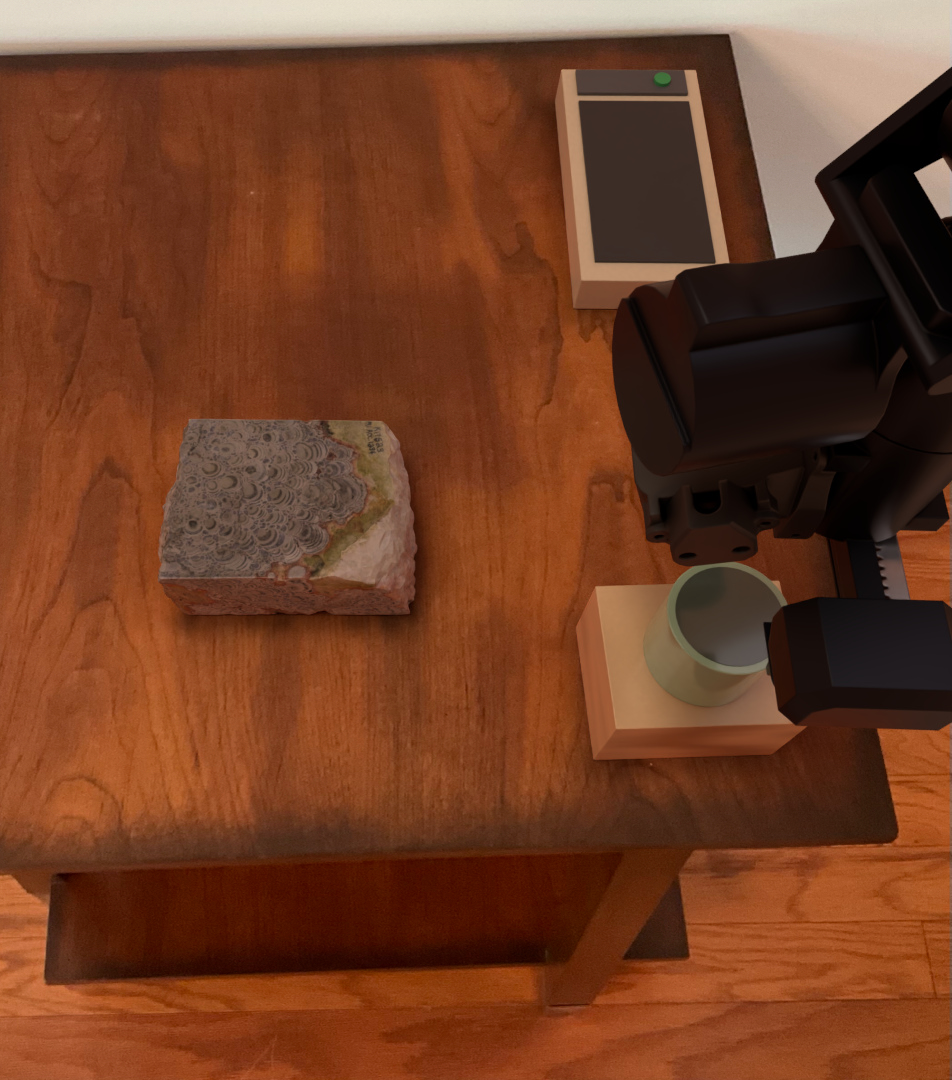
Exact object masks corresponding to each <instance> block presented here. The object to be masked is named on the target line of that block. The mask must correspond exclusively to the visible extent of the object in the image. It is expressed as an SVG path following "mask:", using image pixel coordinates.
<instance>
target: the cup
mask: <svg viewBox="0 0 952 1080" xmlns="http://www.w3.org/2000/svg"><path fill="white" fill-rule="evenodd" d="M772 581H773V580H771V579H770V578H769V577H767V576H766V575H765V574H763V573H762V572H760V571H759V570H757V569H755V568H753V567H752V566H749V565H746V564H743V563H741V562H738V561H736V562H727V563H718V564H709V565H700V566H692V567H689V568H688V569H686V570H685V571H684V572H683V573H681V575H679V576H678V577H677V579H676V580H675V581H674V583H672V584H673V586H672V587H671V589H670V590H669V592H668V594H667V595H666V597H665V598H664V600H663V601H662V603H661V605H660V606H659V608H658V609H657V611H656V612H655V614H654V616H653V617H652V619H651V620H650V622H649V624H648V626H647V628H646V631H645V634H644V639H643V652H644V657H645V661H646V664H647V666H648V669H649V671H650V672H651V674H652V676H653V677H654V679H655V680H656V681H657V683H658V684H659V685H660V686H661V687H662V688H663V689H664V690H666V691H667V692H668V693H669V694H671V695H672V696H674V697H675V698H677V699H679V700H681V701H684V702H686V703H689V704H692V705H696V706H703V707H715V706H722V705H726V704H729V703H731V702H733V701H735V700H737V699H739V698H740V697H741V696H743V695H744V694H745V693H746V692H747V691H748V690H749V689H750V688H751V687H752V686H753V685H754V684H755V683H756V682H757V681H758V680H759V679H760V678H761V677H762V676H763V675H764V674H765V673H766V665H767V663H768V654H767V647H766V641H765V634H764V627H763V622H772V618H773V616H774V615H775V614H776V613H777V612H778V611H779V610H780V608H781V607H782V606H785V605H789V604H788V602H787V600H786V598H785V596H784V594H783V592H782V593H781V592H780V590H779V589H778V588H777V587H776V585H775V584H774V583H773V582H772Z"/></svg>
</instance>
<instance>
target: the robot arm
mask: <svg viewBox="0 0 952 1080" xmlns="http://www.w3.org/2000/svg"><path fill="white" fill-rule="evenodd" d="M942 159H943V160H944V162H945V163H946V165H947V167H948V169H949V171H950V172H951V173H952V66H950V67H949V68H948V69H946V70H945V71H944V72H943V73H941V74H940V75H939V76H938V77H936V79H934V80H933V81H932V82H930V83H929V84H928V85H926V86H925V87H923V89H921V90H920V91H919V92H917V94H915V95H913V97H912V98H910V99H908V101H906V102H905V103H904V104H902V105H901V106H900V107H898V108H897V109H896V110H895V111H893V112H892V113H891V114H890V115H889V116H887V117H886V118H884V120H882V121H880V123H879V124H877V125H876V126H874V128H873V129H871V130H870V131H869V132H867V133H866V134H865V135H864V136H862V137H861V138H860V139H858V140H857V141H856V142H855V143H854V144H851V146H850V147H848V148H847V149H846V150H845V151H843V152H842V153H841V154H840V155H838V156H837V157H836V158H835V159H833V160H831V162H829V163H828V164H827V165H826V166H824V167H823V168H822V169H821V170H819V171H818V173H817V174H816V175H815V176H814V184H815V185H816V187H817V189H818V192H819V193H820V195H821V197H822V199H823V200H824V202H825V205H826V206H827V208H828V210H829V212H830V214H831V215H832V218H833V221H832V223H831V225H830V226H829V228H828V229H827V232H826V234H825V235H824V237H823V239H822V240H821V242H820V244H819V245H818V246H817V248H816V249H815V250H814V251H811V252H806V253H800V254H799V253H798V254H793V255H788V256H783V257H776V258H771V259H765V260H759V261H752V262H751V261H750V262H729V263H722V264H714V265H709V266H703V267H697V268H691V269H686V270H683V271H682V272H681V273H679V274H678V275H676V277H675V279H674V280H668V281H662V282H657V283H651V284H645V285H642V286H639V287H636V288H635V289H634V290H633V292H632V293H631V294H630V295H629V296H628V297H626V298H622V299H621V301H620V304H619V306H618V309H616V313H615V317H614V321H613V326H612V327H613V328H612V340H611V366H612V367H611V368H612V377H613V386H614V392H615V397H616V403H617V407H618V410H619V415H620V419H621V422H622V426H623V429H624V431H625V434H626V437H627V439H628V442H629V443H630V450H631V460H632V472H633V479H634V485H635V487H636V491H637V495H638V499H639V501H640V505H641V509H642V512H643V522H644V530H645V532H644V533H645V540H646V541H647V542H649V543H652V544H662V543H663V544H667V545H669V551H670V555H671V558H672V561H673V562H674V563H675V564H676V565H679V566H682V567H688V568H692V567H693V566H700V565H709V564H718V563H727V562H742V561H746V560H749V559H750V558H752V557H754V556H756V554H758V553H759V544H758V542H759V541H758V535H759V534H760V533H761V532H764V531H769V530H772V534H773V538H774V539H777V540H778V539H779V540H781V539H783V540H808V539H810V538H812V537H813V535H814V534H816V535H819V536H821V537H824V538H825V540H826V547H827V552H828V556H829V562H830V568H831V573H832V579H833V585H834V590H835V596H836V597H834V596H833V597H832V596H816V597H812V598H808V599H804V600H800V601H796V602H793V603H789V604H788V605H785V606H782V607H781V608H780V610H779V611H778V612H777V613H776V614H775V615H774V616H773V618H772V622H763V627H764V634H765V641H766V647H767V654H768V663H767V665H766V673H767V675H768V676H771V681H772V683H773V685H774V687H775V694H776V700H777V707H778V711H779V712H780V713H782V714H783V715H784V716H785V717H786V718H787V719H788V720H790V721H791V722H792V723H793V724H794V725H795V726H807V727H815V728H819V727H821V728H848V729H876V730H877V729H880V730H910V731H934V732H935V731H940V730H942V729H944V728H945V727H947V726H948V725H950V724H952V606H950V605H949V604H948V603H946V602H945V601H944V600H932V599H911V595H910V590H909V585H908V580H907V575H906V571H905V567H904V562H903V557H902V553H901V552H902V551H901V547H900V542H899V538H898V533H899V532H900V531H906V532H907V531H909V532H938V531H939V530H940V529H941V528H942V527H943V526H944V525H945V524H947V522H949V520H950V514H949V509H948V505H947V502H946V501H947V500H946V497H945V493H944V489H945V488H947V486H949V485H950V483H951V482H952V215H948V216H944V217H941V216H940V214H939V213H938V211H937V208H935V206H934V204H933V202H932V200H931V199H930V197H929V196H928V194H927V193H926V191H925V189H924V187H923V186H922V184H921V182H920V181H919V179H918V177H917V175H916V173H917V172H919V171H921V170H923V169H924V168H926V167H928V166H930V165H932V164H934V163H936V162H938V161H940V160H942Z"/></svg>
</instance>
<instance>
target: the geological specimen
mask: <svg viewBox="0 0 952 1080" xmlns="http://www.w3.org/2000/svg"><path fill="white" fill-rule="evenodd" d="M409 479H410V478H409V474H408V471H407V469H406V467H405V461H404V456H403V454H402V451H401V442H400V441H399V439H398V438H397V437H396V436H395V434H394V432H393V431H392V430H391V429H390V428H389V426H388V424H387V423H385V422H384V421H383V420H346V419H345V420H343V419H336V420H335V419H310V420H307V421H306V420H301V419H237V418H235V419H234V418H232V419H231V418H230V419H228V418H223V419H222V418H189V419H188V423H187V424H186V426H185V427H183V431H182V442H181V443H180V445H179V448H178V463H177V465H176V471H175V481H174V483H173V485H172V486H171V488H170V489H169V491H168V492H167V494H166V497H165V503H164V504H163V505H162V506H161V507H162V510H163V519H162V523H161V526H160V533H159V537H158V548H157V554H158V559H159V562H160V564H161V565H160V566H159V568H158V573H157V583H158V584H161V586H162V588H163V589H162V591H163V594H164V595H165V596H166V597H167V598H168V599H170V600H171V602H172V603H173V604H174V605H175V607H177V608H178V609H179V610H180V611H181V612H182V613H183V614H185V615H188V616H221V615H222V616H223V615H235V616H256V615H277V613H280V614H281V613H282V614H285V615H299V614H301V615H314V614H317V612H324V611H325V612H326V613H328V614H330V615H333V616H335V615H337V616H339V615H340V616H341V615H342V616H343V615H346V616H347V615H351V616H353V615H355V616H357V615H358V616H365V615H366V616H367V615H368V616H369V615H370V616H371V615H372V616H373V615H374V616H375V615H376V616H377V615H378V616H379V615H380V616H381V615H382V616H384V615H386V616H387V615H388V616H402V615H410V614H411V610H410V608H409V605H410V603H412V602H414V601H415V595H416V588H415V584H416V581H417V579H416V577H415V575H414V574H415V571H416V560H415V554H417V552H418V545H417V543H416V534H415V531H414V522H415V513H414V511H413V510H412V507H411V499H412V497H411V495H412V494H411V486H410V483H409V481H410V480H409Z"/></svg>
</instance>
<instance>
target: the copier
mask: <svg viewBox="0 0 952 1080" xmlns="http://www.w3.org/2000/svg"><path fill="white" fill-rule="evenodd" d="M554 104H555V105H554V106H555V117H556V128H557V141H558V149H559V163H560V173H561V185H562V195H563V205H564V206H563V207H564V218H565V229H566V241H567V248H568V249H567V252H568V262H569V263H568V264H569V275H570V285H571V286H570V287H571V297H572V307H573V310H575V309H576V310H577V309H579V310H582V309H583V310H584V309H586V310H590V309H591V310H617V309H618V306H619V304H620V301H621V299H622V298H626V297H628V296H629V295H630V294H631V293H632V292H633V290H634V289H635V288H636V287H639V286H642V285H645V284H651V283H657V282H662V281H668V280H674V279H675V277H676V275H678V274H679V273H681V272H682V271H683V270H686V269H691V268H697V267H703V266H709V265H714V264H722V263H730V258H729V252H728V246H727V242H726V240H727V239H726V234H725V230H724V229H725V228H724V223H723V219H722V218H723V217H722V213H721V207H720V206H721V205H720V201H719V194H718V189H717V183H716V177H715V172H714V165H713V160H712V154H711V149H710V142H709V137H708V131H707V126H706V119H705V114H704V108H703V102H702V96H701V91H700V85H699V79H698V74H697V70H696V69H568V68H567V69H564V68H563V69H561V70H560V74H559V80H558V85H557V89H556V95H555V100H554Z"/></svg>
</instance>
